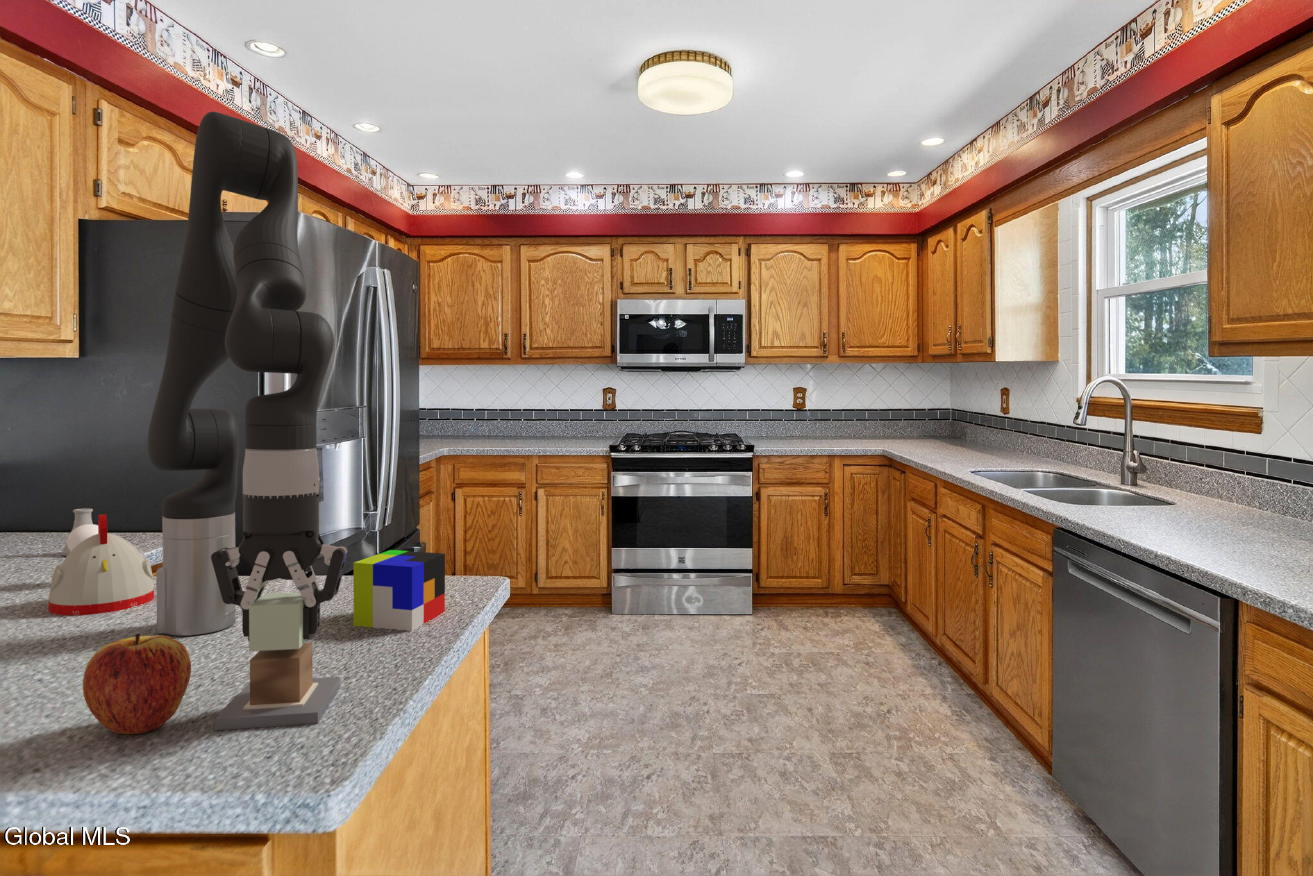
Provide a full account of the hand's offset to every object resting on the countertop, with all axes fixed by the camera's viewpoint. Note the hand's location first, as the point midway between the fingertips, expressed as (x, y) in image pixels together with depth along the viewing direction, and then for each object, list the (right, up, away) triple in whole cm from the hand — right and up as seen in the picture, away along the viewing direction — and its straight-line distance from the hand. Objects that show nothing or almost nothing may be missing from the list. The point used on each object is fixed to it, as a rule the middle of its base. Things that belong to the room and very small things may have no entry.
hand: (282, 637), depth 78 cm
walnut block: (0, -6, 0) cm, 7 cm away
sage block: (0, 0, 0) cm, 0 cm away
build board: (0, -8, 0) cm, 8 cm away
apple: (-12, -8, -5) cm, 16 cm away
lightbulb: (-64, -5, +51) cm, 82 cm away
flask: (-84, -3, +75) cm, 112 cm away
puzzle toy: (+1, -7, +33) cm, 34 cm away
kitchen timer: (-51, -6, +39) cm, 64 cm away
